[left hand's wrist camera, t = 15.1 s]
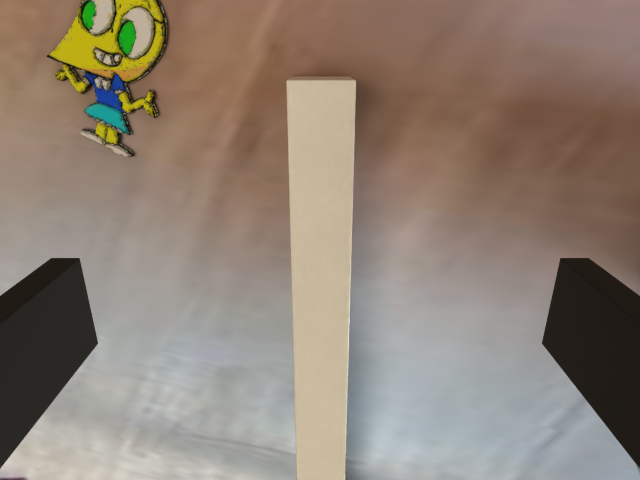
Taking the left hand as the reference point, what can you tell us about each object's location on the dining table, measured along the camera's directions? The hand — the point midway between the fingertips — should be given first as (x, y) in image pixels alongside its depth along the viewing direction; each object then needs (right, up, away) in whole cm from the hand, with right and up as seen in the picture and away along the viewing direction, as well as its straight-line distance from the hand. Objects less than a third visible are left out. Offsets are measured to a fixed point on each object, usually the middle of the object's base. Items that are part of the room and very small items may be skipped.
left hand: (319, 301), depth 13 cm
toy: (-18, +17, +26) cm, 36 cm away
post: (0, -13, +38) cm, 40 cm away
